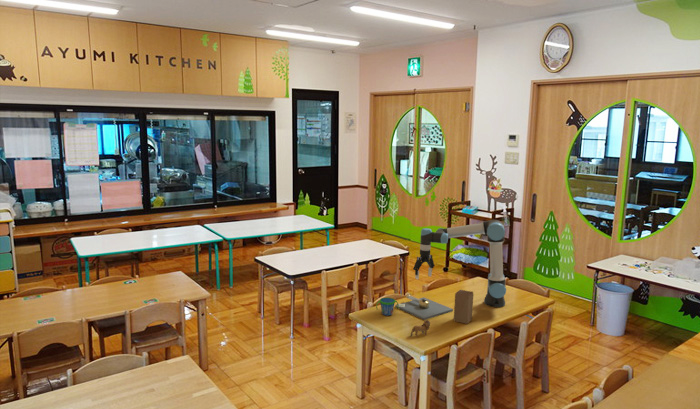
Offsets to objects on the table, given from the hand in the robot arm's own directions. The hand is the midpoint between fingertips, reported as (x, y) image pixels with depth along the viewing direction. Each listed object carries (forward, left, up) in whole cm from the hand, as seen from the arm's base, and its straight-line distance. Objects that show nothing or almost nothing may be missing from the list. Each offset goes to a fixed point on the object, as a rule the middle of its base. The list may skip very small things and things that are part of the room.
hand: (423, 277), depth 363 cm
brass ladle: (-2, +8, -18) cm, 20 cm away
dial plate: (-10, +8, -20) cm, 23 cm away
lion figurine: (-39, +41, -20) cm, 60 cm away
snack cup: (-2, +36, -20) cm, 41 cm away
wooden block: (-40, +1, -20) cm, 44 cm away
